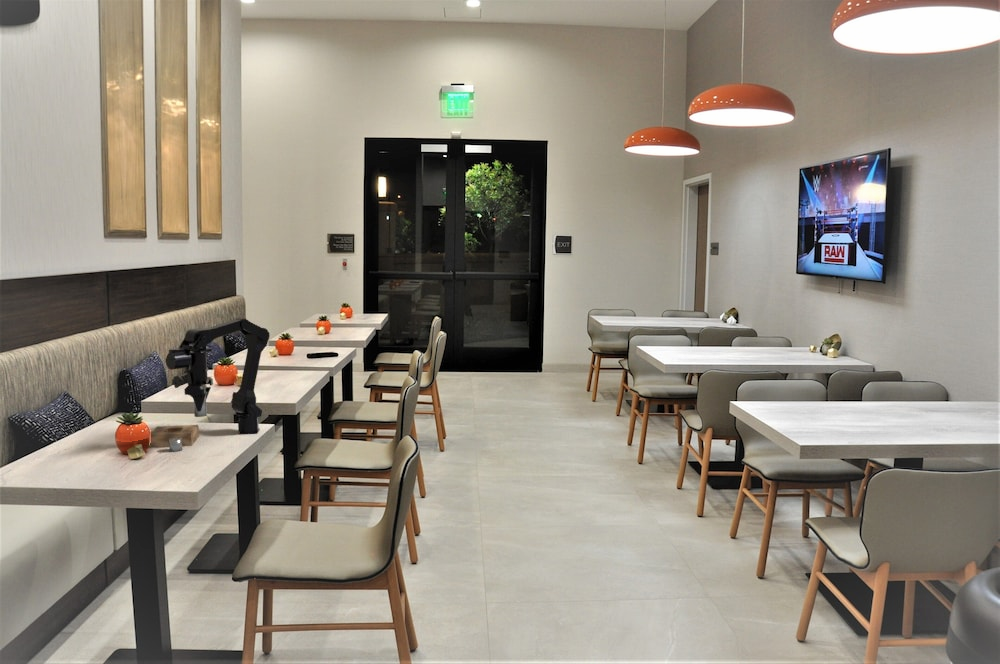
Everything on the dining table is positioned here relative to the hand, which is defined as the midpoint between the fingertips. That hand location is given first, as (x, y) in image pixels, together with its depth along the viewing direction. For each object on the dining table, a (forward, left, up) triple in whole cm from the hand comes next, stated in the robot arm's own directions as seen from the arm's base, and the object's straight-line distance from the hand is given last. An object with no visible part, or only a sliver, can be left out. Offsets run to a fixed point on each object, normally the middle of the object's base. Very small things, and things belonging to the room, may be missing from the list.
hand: (200, 409), depth 266 cm
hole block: (+10, -4, -12) cm, 16 cm away
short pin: (+7, +7, -12) cm, 16 cm away
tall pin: (0, 0, -2) cm, 2 cm away
